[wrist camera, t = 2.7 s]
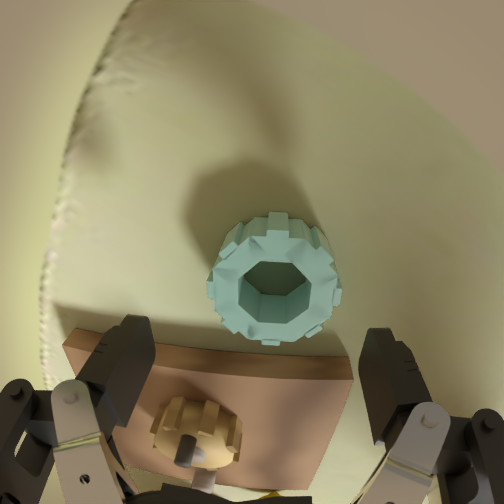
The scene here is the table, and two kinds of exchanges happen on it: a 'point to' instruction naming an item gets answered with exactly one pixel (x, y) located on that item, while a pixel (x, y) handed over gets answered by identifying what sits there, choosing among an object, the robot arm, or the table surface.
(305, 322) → the teal gear
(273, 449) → the gear board
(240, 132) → the table surface
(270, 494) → the lemon
